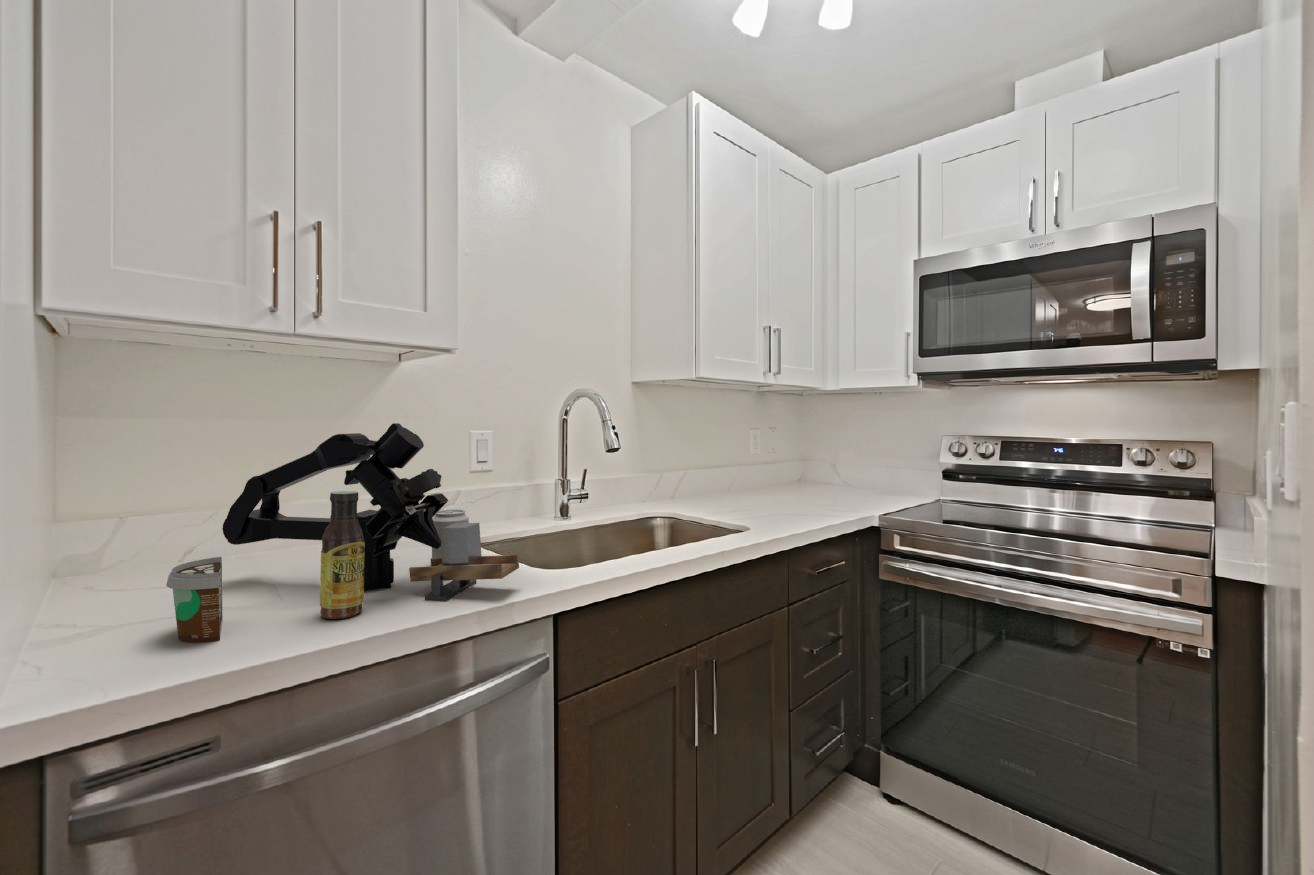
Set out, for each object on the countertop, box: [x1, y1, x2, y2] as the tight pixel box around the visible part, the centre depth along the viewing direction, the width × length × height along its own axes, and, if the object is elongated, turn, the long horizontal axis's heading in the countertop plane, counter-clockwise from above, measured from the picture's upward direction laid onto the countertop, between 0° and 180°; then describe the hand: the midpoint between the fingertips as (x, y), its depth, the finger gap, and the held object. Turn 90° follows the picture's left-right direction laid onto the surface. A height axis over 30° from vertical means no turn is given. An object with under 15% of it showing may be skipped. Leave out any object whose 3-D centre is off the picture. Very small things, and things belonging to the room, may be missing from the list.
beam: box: [408, 554, 520, 583], centre depth 105 cm, size 18×8×3 cm, turn 80°
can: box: [431, 508, 470, 558], centre depth 124 cm, size 8×8×12 cm
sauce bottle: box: [319, 490, 365, 620], centre depth 93 cm, size 6×6×20 cm
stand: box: [424, 574, 477, 602], centre depth 106 cm, size 4×11×4 cm, turn 170°
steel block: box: [440, 522, 482, 566], centre depth 105 cm, size 5×5×8 cm
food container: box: [165, 556, 224, 644], centre depth 84 cm, size 12×6×10 cm, turn 35°
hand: (439, 546), depth 107 cm, fingers closed
